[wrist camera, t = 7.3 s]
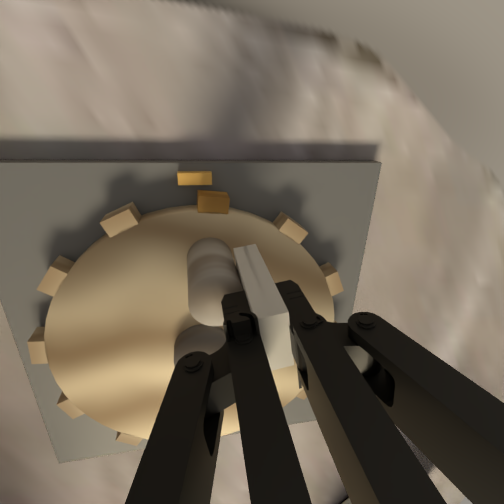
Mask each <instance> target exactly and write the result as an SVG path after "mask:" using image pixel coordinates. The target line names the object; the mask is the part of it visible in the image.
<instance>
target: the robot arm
mask: <svg viewBox="0 0 504 504" xmlns="http://www.w3.org/2000/svg"><path fill="white" fill-rule="evenodd" d="M233 250H234V256H235V261H236V267H237V270H238V274H239V277H240V280H241V283H242V286H243V289H244V291H239V292H235V293H230V294H225V295H224V296H223V299H222V301H221V305H222V311H223V317H224V322H223V328H224V333H225V337H226V342H225V343H224V345H223V346H222V347H221V348H220V349H219V350H217V351H216V352H214V353H212V354H210V355H209V354H207V353H205V352H202V351H195V352H190V353H188V354H186V355H184V356H183V357H182V358H180V359H179V360H178V362H177V364H176V365H175V368H174V371H173V373H172V376H171V379H170V382H169V384H168V387H167V390H166V393H165V395H164V398H163V401H162V403H161V406H160V409H159V412H158V414H157V417H156V420H155V423H154V425H153V428H152V431H151V434H150V436H149V439H148V442H147V445H146V447H145V450H144V453H143V455H142V458H141V461H140V464H139V466H138V469H137V472H136V475H135V477H134V480H133V483H132V486H131V488H130V491H129V494H128V497H127V499H126V502H125V504H210V499H211V493H212V486H213V480H214V474H215V467H216V461H217V455H218V448H219V442H220V436H221V429H222V423H223V417H224V409H226V408H228V407H229V406H231V405H233V404H234V403H236V407H237V414H238V421H239V427H240V434H241V440H242V447H243V454H244V460H245V467H246V473H247V480H248V487H249V493H250V500H251V504H312V503H311V500H310V496H309V493H308V490H307V486H306V483H305V480H304V477H303V473H302V470H301V467H300V463H299V460H298V457H297V453H296V450H295V447H294V444H293V440H292V437H291V434H290V430H289V427H288V424H287V421H286V417H285V414H284V411H283V407H282V404H281V401H280V398H279V394H278V391H277V388H276V384H275V381H274V378H273V375H272V371H273V370H277V369H281V368H284V367H289V366H293V365H294V359H295V362H296V364H297V373H298V383H299V389H301V388H302V386H303V388H304V391H305V393H306V396H307V398H308V400H309V403H310V405H311V408H312V410H313V412H314V415H315V417H316V420H317V422H318V424H319V427H320V429H321V432H322V434H323V436H324V439H325V441H326V444H327V446H328V448H329V451H330V453H331V456H332V458H333V460H334V463H335V465H336V468H337V470H338V472H339V475H340V477H341V480H342V482H343V484H344V487H345V489H346V492H347V494H348V496H349V499H350V501H351V503H352V504H447V503H446V502H445V500H444V499H443V497H442V496H441V494H440V493H439V491H438V490H437V488H436V487H435V485H434V484H433V482H432V481H431V479H430V478H429V476H428V474H427V473H426V471H425V470H424V468H423V467H422V465H421V464H420V462H419V461H418V459H417V458H416V456H415V455H414V453H413V452H412V450H411V449H410V447H409V446H408V444H407V442H406V441H405V439H404V438H403V436H402V435H401V433H400V432H399V430H398V429H397V427H398V428H399V429H400V430H401V431H402V432H403V433H404V434H405V435H406V436H407V437H408V438H409V439H410V440H411V441H412V442H413V443H414V444H415V445H416V446H417V447H418V448H419V449H420V450H421V451H422V452H423V453H424V454H425V455H426V456H427V457H428V458H429V460H430V461H431V462H432V463H433V464H434V465H435V466H436V467H437V468H438V469H439V470H440V471H441V472H442V473H443V474H444V475H445V476H446V477H447V478H448V479H449V480H450V481H451V482H452V483H453V484H454V485H455V486H456V487H457V488H458V489H459V490H460V491H461V492H462V493H463V494H464V495H465V496H466V497H467V498H468V499H469V500H470V501H471V502H472V503H473V504H504V403H503V402H501V401H500V400H499V399H497V398H496V397H494V396H493V395H491V394H490V393H489V392H487V391H486V390H484V389H483V388H481V387H480V386H478V385H477V384H476V383H474V382H473V381H471V380H470V379H468V378H467V377H466V376H464V375H463V374H461V373H460V372H458V371H457V370H455V369H454V368H453V367H451V366H450V365H448V364H447V363H445V362H444V361H443V360H441V359H440V358H438V357H437V356H435V355H434V354H432V353H431V352H430V351H428V350H427V349H425V348H424V347H422V346H421V345H420V344H418V343H417V342H415V341H414V340H412V339H411V338H410V337H408V336H407V335H405V334H404V333H402V332H401V331H399V330H398V329H397V328H395V327H394V326H392V325H391V324H389V323H388V322H387V321H385V320H384V319H382V318H381V317H379V316H377V315H375V314H373V313H369V312H358V313H354V314H353V315H351V316H350V317H349V319H348V323H334V322H328V321H326V319H325V318H324V317H323V316H321V315H319V314H317V313H315V311H314V310H313V308H312V306H311V305H310V303H309V302H308V300H307V298H306V297H305V295H304V293H303V292H302V290H301V289H300V287H299V285H298V284H297V283H295V282H293V281H292V280H287V281H282V282H278V283H274V281H273V279H272V277H271V275H270V273H269V271H268V268H267V266H266V264H265V262H264V260H263V258H262V256H261V254H260V252H259V250H258V248H257V246H256V244H252V245H247V246H242V247H237V248H233ZM293 357H294V359H293ZM395 425H396V426H397V427H396V426H395Z"/></svg>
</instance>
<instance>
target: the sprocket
mask: <svg viewBox="0 0 504 504" xmlns="http://www.w3.org/2000/svg"><path fill="white" fill-rule="evenodd" d="M229 202H230V198H229V196H228V194H227V192H220V191H207V190H197V205H186V206H178V207H170V208H165V209H161V210H157V211H153V212H149V213H146V214H144V215H141V214H140V212H139V211H138V209H137V208H136V206H135V205H134V203H133V202H131V203H129V204H127V205H125V206H122V207H120V208H118V209H116V210H114V211H112V212H110V213H108V214H106V215H105V216H104V217H103V219H102V220H101V222H100V224H101V226H102V227H103V228H104V230H105V231H106V234H105V235H103V236H102V237H101V238H99V239H98V240H97V241H95V242H94V243H93V244H92V245H91V246H90V247H89V248H88V249H87V250H86V251H85V252H84V253H83V254H82V255H81V256H80V257H79V258H78V259H77V261H76V262H73V261H71V260H69V259H67V258H65V257H62V256H60V255H59V256H58V258H57V259H56V260H55V261H54V262H53V264H52V265H51V266H50V268H49V269H48V271H47V273H46V274H45V276H44V278H43V280H42V281H41V283H40V285H39V286H38V288H37V290H38V291H41V292H43V293H46V294H48V295H50V296H53V299H52V301H51V303H50V307H49V310H48V314H47V317H46V323H45V327H37V328H36V329H35V331H34V332H33V334H32V335H31V337H30V338H29V340H28V341H27V343H28V348H29V353H30V358H31V363H32V364H47V363H48V364H49V368H50V370H51V372H52V374H53V376H54V378H55V381H56V383H57V384H58V385H59V387H60V388H61V390H62V393H61V395H60V397H59V400H58V402H57V406H58V407H59V408H61V409H62V410H63V411H64V412H65V413H66V414H68V415H69V416H70V417H71V418H72V419H74V418H76V417H79V416H81V415H83V414H86V415H87V416H89V417H90V418H92V419H94V420H95V421H97V422H99V423H100V424H102V425H104V426H106V427H109V428H111V429H113V430H115V431H117V436H116V441H119V442H123V443H127V444H131V445H135V446H137V445H138V444H139V443H140V442H141V440H142V439H149V436H150V434H151V431H152V428H153V425H154V423H155V420H156V417H157V414H158V412H159V409H160V406H161V403H162V401H163V398H164V395H165V393H166V390H167V387H168V384H169V382H170V379H171V376H172V373H173V371H174V368H175V365H176V364H177V362H178V360H179V359H180V358H182V357H183V356H184V355H186V354H188V353H190V352H195V351H202V352H205V353H207V354H209V355H210V354H212V353H214V352H216V351H217V350H219V349H220V348H221V347H222V346H223V345H224V343H225V342H226V337H225V333H224V328H223V322H224V317H223V311H222V305H221V301H222V299H223V296H224V295H225V294H230V293H235V292H239V291H244V289H243V286H242V283H241V280H240V277H239V274H238V270H237V267H236V261H235V256H234V250H233V248H237V247H242V246H247V245H252V244H256V246H257V248H258V250H259V252H260V254H261V256H262V258H263V260H264V262H265V264H266V266H267V268H268V271H269V273H270V275H271V277H272V279H273V281H274V283H278V282H282V281H287V280H292V281H293V282H295V283H297V284H298V285H299V287H300V289H301V290H302V292H303V293H304V295H305V297H306V298H307V300H308V302H309V303H310V305H311V306H312V308H313V310H314V311H315V313H317V314H319V315H321V316H323V317H324V318H325V319H326V321H328V322H334V323H337V322H336V321H334V305H333V298H332V296H334V295H336V294H338V293H340V292H342V291H344V290H343V287H342V284H341V281H340V277H339V274H338V271H337V270H336V269H335V268H334V267H333V266H332V265H331V264H330V263H329V262H328V263H326V264H324V265H321V266H318V264H317V263H316V261H315V260H314V259H313V258H312V256H311V255H310V254H309V253H308V252H307V251H306V250H305V248H304V247H303V246H302V245H301V244H300V243H301V242H302V241H303V239H304V238H305V237H306V236H307V234H308V232H307V231H306V230H305V229H304V228H303V227H302V226H301V225H300V224H298V223H297V222H296V221H294V220H293V219H291V218H290V217H289V216H287V215H286V214H285V213H283V212H282V211H281V212H280V214H279V215H278V216H277V218H276V219H275V220H274V221H273V223H272V222H271V221H269V220H267V219H265V218H262V217H260V216H257V215H255V214H252V213H250V212H246V211H242V210H238V209H235V208H230V207H229ZM293 359H294V357H293ZM272 375H273V378H274V381H275V384H276V388H277V391H278V394H279V398H280V401H281V404H282V407H284V406H285V405H287V404H288V403H289V402H290V401H292V400H293V399H294V398H295V397H298V398H301V399H303V400H304V399H305V398H306V397H307V396H306V393H305V391H304V388H303V386H302V388H301V389H299V383H298V373H297V364H296V362H295V359H294V365H293V366H289V367H284V368H281V369H277V370H273V371H272ZM237 431H240V427H239V421H238V414H237V407H236V403H234V404H233V405H231V406H229V407H228V408H226V409H224V417H223V423H222V429H221V436H223V435H227V434H230V433H234V432H237Z"/></svg>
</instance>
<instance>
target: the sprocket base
mask: <svg viewBox="0 0 504 504" xmlns="http://www.w3.org/2000/svg"><path fill="white" fill-rule="evenodd" d="M381 164H382V163H381V162H377V161H363V160H0V300H1V303H2V306H3V309H4V312H5V314H6V317H7V320H8V323H9V326H10V328H11V331H12V334H13V337H14V339H15V342H16V345H17V348H18V351H19V353H20V356H21V359H22V362H23V365H24V367H25V370H26V373H27V376H28V379H29V381H30V384H31V387H32V390H33V392H34V395H35V398H36V401H37V404H38V406H39V409H40V412H41V415H42V418H43V420H44V423H45V426H46V429H47V432H48V434H49V437H50V440H51V443H52V445H53V448H54V451H55V454H56V457H57V459H58V462H59V463H64V462H70V461H76V460H82V459H88V458H94V457H100V456H106V455H112V454H118V453H124V452H130V451H136V450H142V449H145V447H146V445H147V442H148V439H142V440H141V442H140V443H139V444H138V445H137V446H135V445H131V444H127V443H123V442H119V441H116V436H117V431H115V430H113V429H111V428H109V427H106V426H104V425H102V424H100V423H99V422H97V421H95V420H94V419H92V418H90V417H89V416H87V415H86V414H83V415H81V416H79V417H76V418H74V419H72V418H71V417H70V416H69V415H68V414H66V413H65V412H64V411H63V410H62V409H61V408H59V407H58V406H57V402H58V400H59V397H60V395H61V393H62V390H61V388H60V387H59V385H58V384H57V383H56V381H55V378H54V376H53V374H52V372H51V370H50V368H49V364H48V363H47V364H32V363H31V358H30V353H29V348H28V343H27V341H28V340H29V338H30V337H31V335H32V334H33V332H34V331H35V329H36V328H37V327H45V323H46V317H47V314H48V310H49V307H50V303H51V301H52V299H53V296H50V295H48V294H46V293H43V292H41V291H38V290H37V288H38V286H39V285H40V283H41V281H42V280H43V278H44V276H45V274H46V273H47V271H48V269H49V268H50V266H51V265H52V264H53V262H54V261H55V260H56V259H57V258H58V256H59V255H60V256H62V257H65V258H67V259H69V260H71V261H73V262H76V261H77V259H78V258H79V257H80V256H81V255H82V254H83V253H84V252H85V251H86V250H87V249H88V248H89V247H90V246H91V245H92V244H93V243H94V242H95V241H97V240H98V239H99V238H101V237H102V236H103V235H105V234H106V231H105V230H104V228H103V227H102V226H101V224H100V222H101V220H102V219H103V217H104V216H105V215H106V214H108V213H110V212H112V211H114V210H116V209H118V208H120V207H122V206H125V205H127V204H129V203H131V202H133V203H134V205H135V206H136V208H137V209H138V211H139V212H140V214H141V215H144V214H146V213H149V212H153V211H157V210H161V209H165V208H170V207H178V206H186V205H197V190H207V191H220V192H227V194H228V196H229V198H230V202H229V207H230V208H235V209H238V210H242V211H246V212H250V213H252V214H255V215H257V216H260V217H262V218H265V219H267V220H269V221H271V222H272V223H273V221H274V220H275V219H276V218H277V216H278V215H279V214H280V212H281V211H282V212H283V213H285V214H286V215H287V216H289V217H290V218H291V219H293V220H294V221H296V222H297V223H298V224H300V225H301V226H302V227H303V228H304V229H305V230H306V231H307V232H308V234H307V236H306V237H305V238H304V239H303V241H302V242H301V243H300V244H301V245H302V246H303V247H304V248H305V250H306V251H307V252H308V253H309V254H310V255H311V256H312V258H313V259H314V260H315V261H316V263H317V264H318V266H321V265H324V264H326V263H328V262H329V263H330V264H331V265H332V266H333V267H334V268H335V269H336V270H337V271H338V274H339V277H340V281H341V284H342V287H343V290H344V291H342V292H340V293H338V294H336V295H334V296H332V298H333V305H334V321H336V322H337V323H348V319H349V317H350V316H351V315H352V311H353V306H354V301H355V296H356V290H357V285H358V280H359V275H360V270H361V265H362V260H363V255H364V250H365V245H366V240H367V235H368V230H369V225H370V220H371V214H372V209H373V204H374V199H375V194H376V189H377V184H378V179H379V174H380V169H381ZM283 411H284V414H285V417H286V421H287V424H288V425H291V424H297V423H303V422H308V421H314V420H316V417H315V415H314V412H313V410H312V408H311V405H310V403H309V400H308V398H307V397H306V398H305V399H304V400H303V399H301V398H298V397H295V398H294V399H293V400H292V401H290V402H289V403H288V404H287V405H285V406H284V407H283ZM237 433H240V431H237V432H234V433H230V434H227V435H231V434H237ZM223 436H225V435H223Z"/></svg>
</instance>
